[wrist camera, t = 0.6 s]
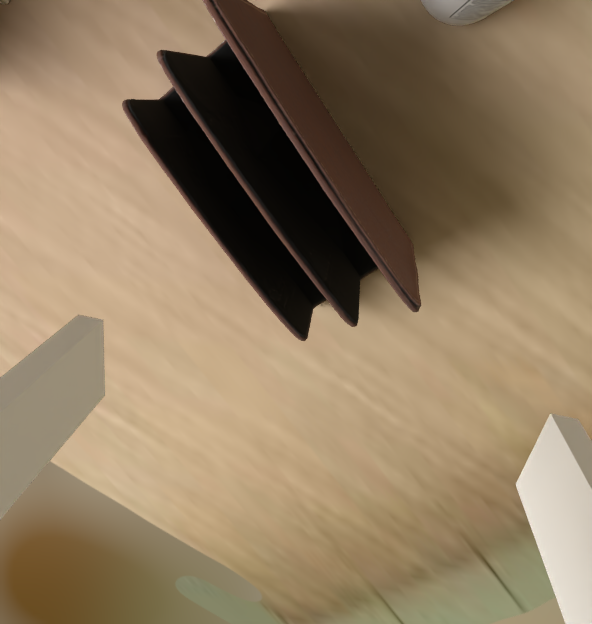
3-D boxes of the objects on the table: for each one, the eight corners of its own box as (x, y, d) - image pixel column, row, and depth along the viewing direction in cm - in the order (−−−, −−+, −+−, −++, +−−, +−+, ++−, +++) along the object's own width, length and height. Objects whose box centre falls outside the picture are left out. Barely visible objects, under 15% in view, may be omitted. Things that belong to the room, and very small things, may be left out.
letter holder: (264, 8, 33) (199, -41, 21) (413, 243, 39) (436, 319, 26) (160, 101, 37) (50, 108, 24) (311, 305, 42) (286, 399, 29)
